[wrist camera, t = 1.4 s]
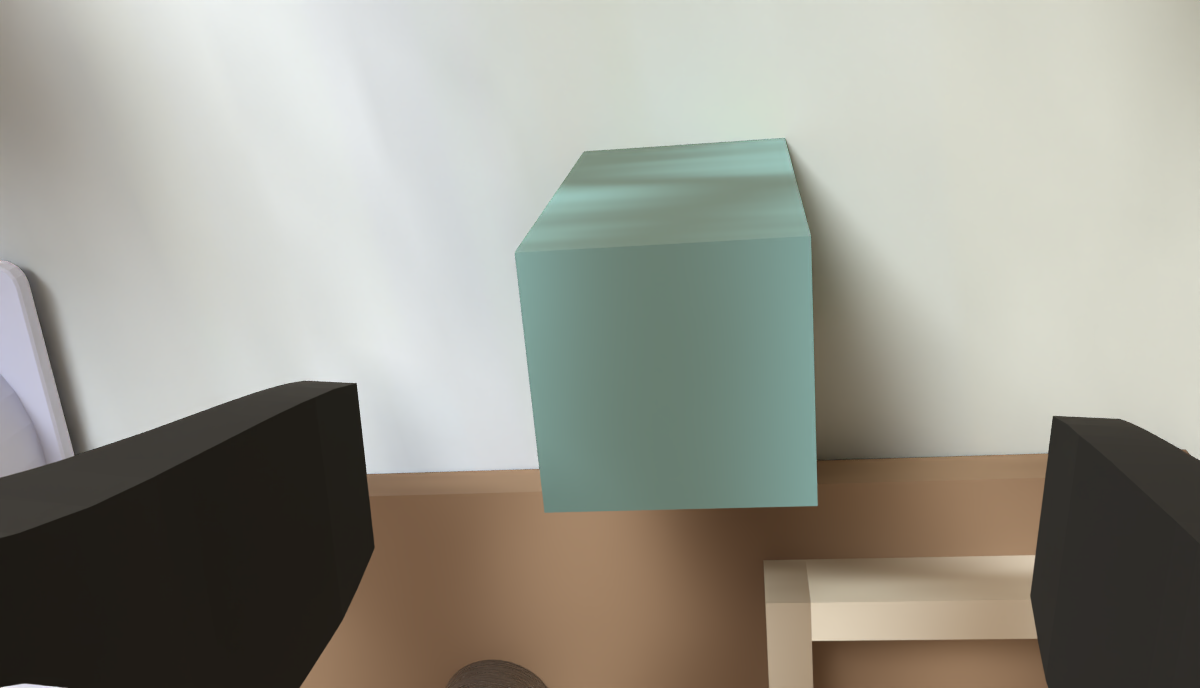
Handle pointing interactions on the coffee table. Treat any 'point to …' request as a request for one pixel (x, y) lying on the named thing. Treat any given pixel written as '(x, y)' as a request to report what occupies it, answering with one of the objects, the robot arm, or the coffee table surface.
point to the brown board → (704, 584)
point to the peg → (672, 331)
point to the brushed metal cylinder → (495, 676)
